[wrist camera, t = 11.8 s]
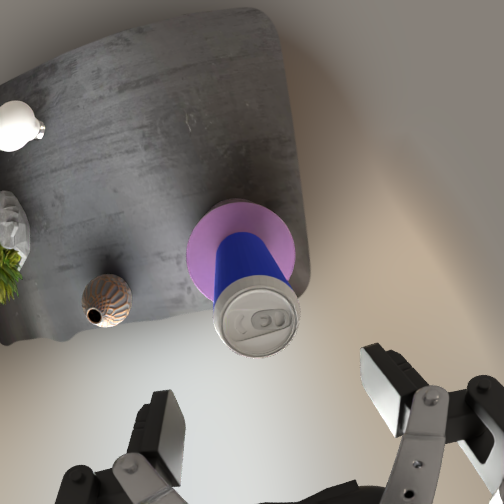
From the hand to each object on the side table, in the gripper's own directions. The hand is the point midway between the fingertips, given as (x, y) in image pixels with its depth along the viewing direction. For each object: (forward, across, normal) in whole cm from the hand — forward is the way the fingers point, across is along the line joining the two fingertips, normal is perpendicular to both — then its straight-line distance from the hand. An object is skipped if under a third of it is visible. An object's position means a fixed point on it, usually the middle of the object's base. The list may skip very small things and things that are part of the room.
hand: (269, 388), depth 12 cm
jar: (+32, 0, 0) cm, 32 cm away
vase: (+32, +19, +4) cm, 38 cm away
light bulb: (+32, +25, -22) cm, 46 cm away
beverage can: (+21, 0, 0) cm, 21 cm away
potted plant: (+32, +34, -7) cm, 47 cm away
